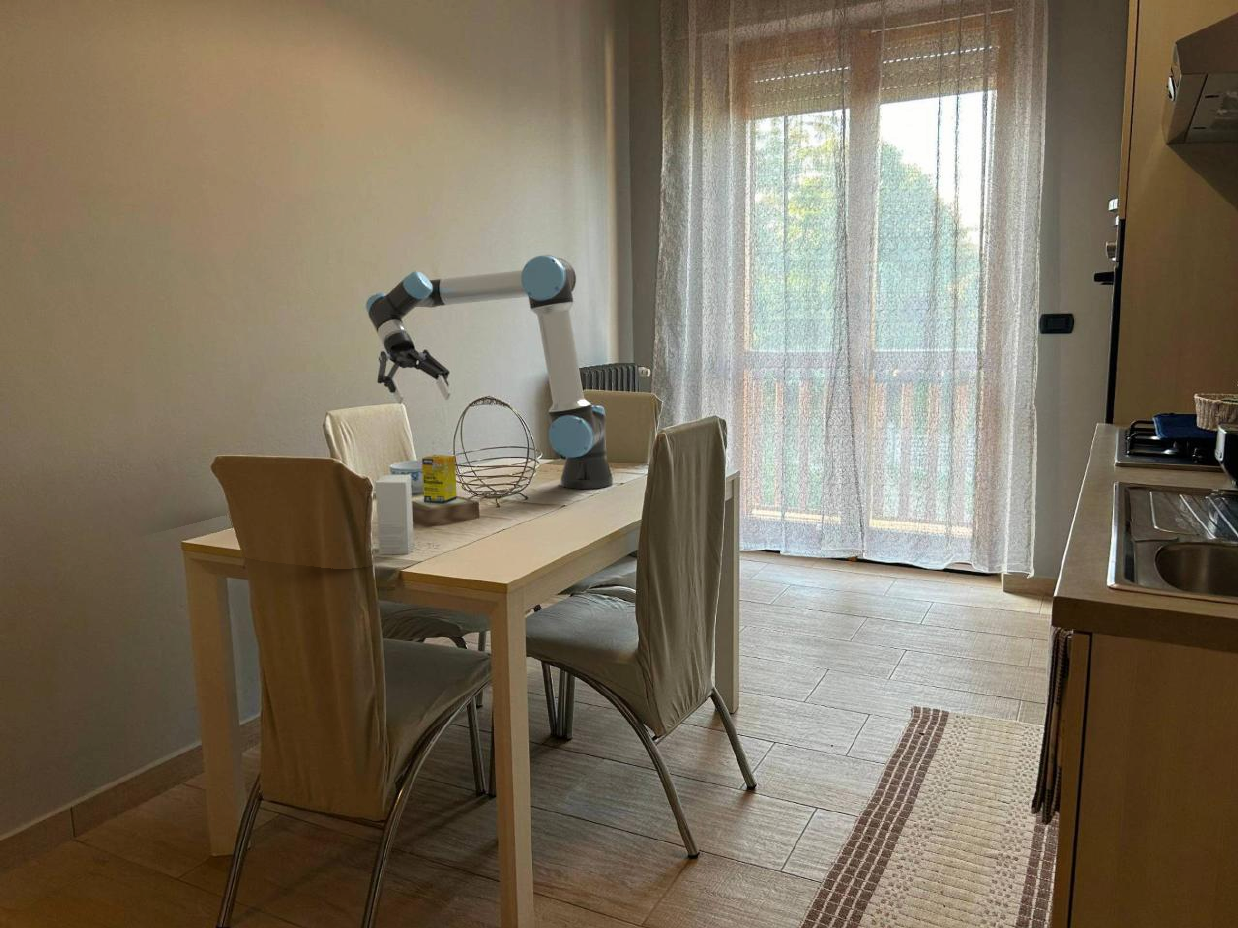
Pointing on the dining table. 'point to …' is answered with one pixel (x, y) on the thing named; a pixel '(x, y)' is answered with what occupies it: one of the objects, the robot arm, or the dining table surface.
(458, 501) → the flat brown box
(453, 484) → the supplement box
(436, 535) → the dining table surface
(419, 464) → the chinaware
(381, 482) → the skincare box
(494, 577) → the dining table surface
